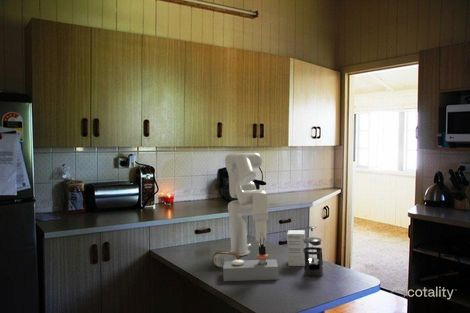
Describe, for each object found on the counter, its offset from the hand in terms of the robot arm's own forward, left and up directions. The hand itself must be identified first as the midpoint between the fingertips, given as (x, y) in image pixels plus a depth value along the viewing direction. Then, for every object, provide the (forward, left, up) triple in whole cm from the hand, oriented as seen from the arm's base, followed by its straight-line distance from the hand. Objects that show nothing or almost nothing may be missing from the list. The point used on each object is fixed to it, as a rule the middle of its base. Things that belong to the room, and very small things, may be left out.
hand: (262, 254), depth 188 cm
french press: (-15, +20, -11) cm, 27 cm away
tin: (-2, -24, -11) cm, 26 cm away
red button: (0, 0, -6) cm, 6 cm away
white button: (+7, -10, -8) cm, 15 cm away
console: (+3, -5, -11) cm, 12 cm away
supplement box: (-26, +5, -11) cm, 28 cm away
